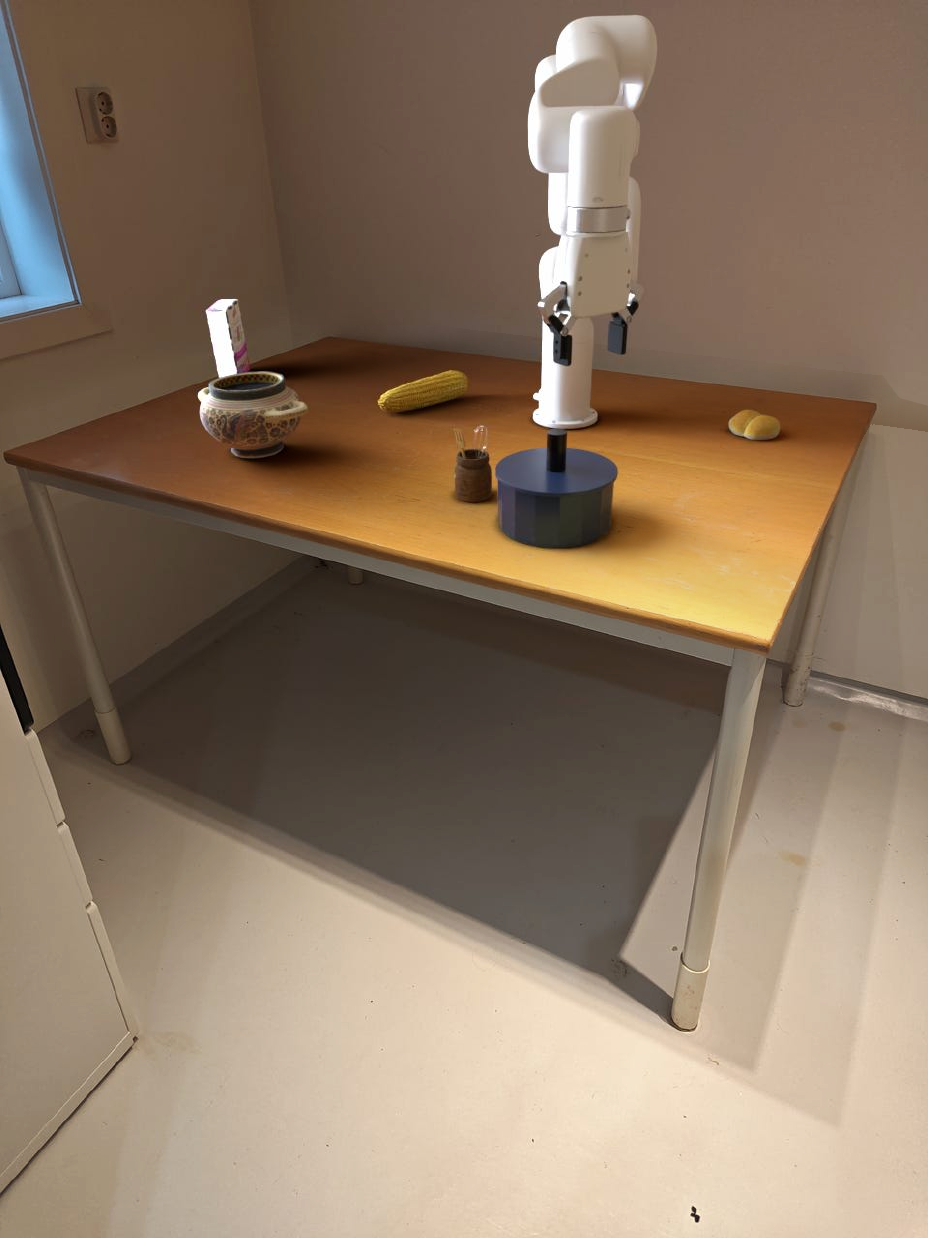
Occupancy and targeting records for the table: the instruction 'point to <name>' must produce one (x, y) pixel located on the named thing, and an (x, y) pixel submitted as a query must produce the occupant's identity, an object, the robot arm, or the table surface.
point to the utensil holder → (472, 472)
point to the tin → (554, 517)
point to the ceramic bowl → (251, 412)
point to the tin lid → (556, 469)
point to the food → (424, 392)
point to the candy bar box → (228, 337)
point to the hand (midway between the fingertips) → (589, 358)
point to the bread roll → (754, 425)
